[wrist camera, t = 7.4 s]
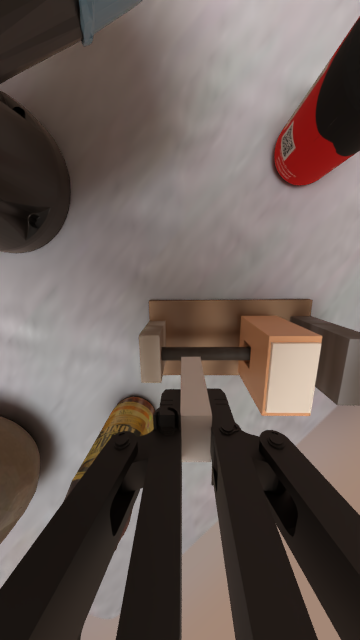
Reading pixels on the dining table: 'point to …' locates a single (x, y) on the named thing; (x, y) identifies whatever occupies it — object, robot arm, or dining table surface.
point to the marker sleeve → (279, 365)
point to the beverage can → (324, 119)
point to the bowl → (16, 473)
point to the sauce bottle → (124, 417)
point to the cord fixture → (224, 338)
